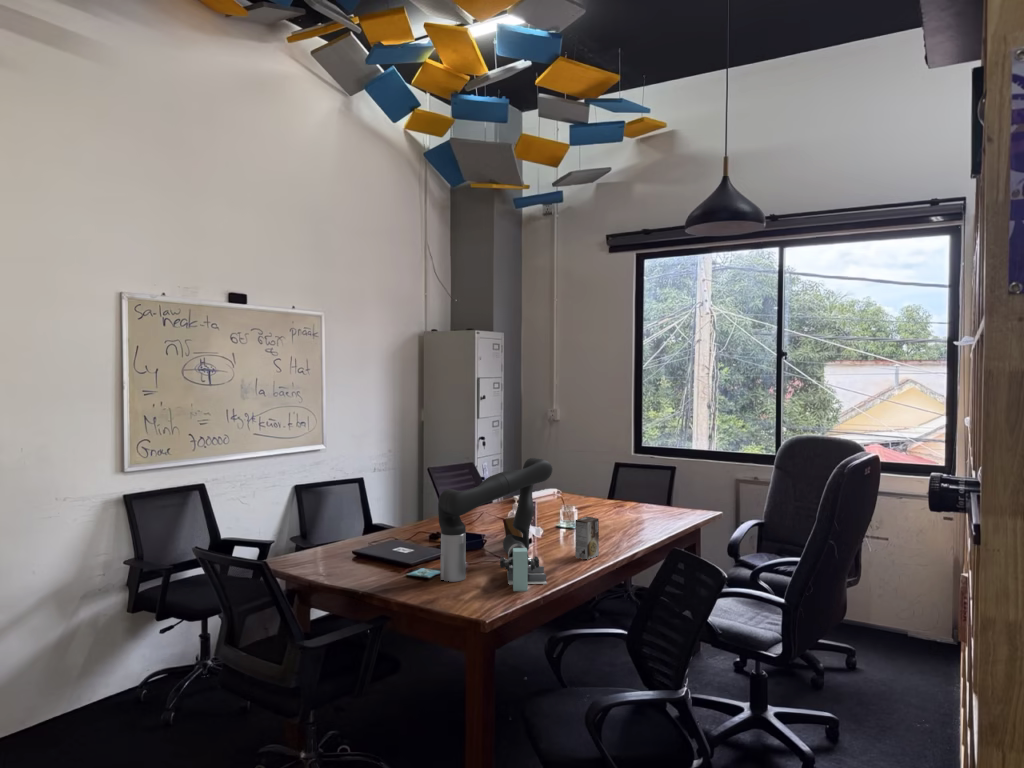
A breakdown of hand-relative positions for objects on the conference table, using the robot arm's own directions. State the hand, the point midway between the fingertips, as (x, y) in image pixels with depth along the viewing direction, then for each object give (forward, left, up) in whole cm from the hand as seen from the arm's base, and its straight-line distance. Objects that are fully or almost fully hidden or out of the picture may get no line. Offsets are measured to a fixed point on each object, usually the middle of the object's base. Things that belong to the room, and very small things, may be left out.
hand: (520, 567), depth 234 cm
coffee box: (+30, +43, -8) cm, 53 cm away
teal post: (0, +2, -8) cm, 8 cm away
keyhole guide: (+3, +14, -8) cm, 16 cm away
